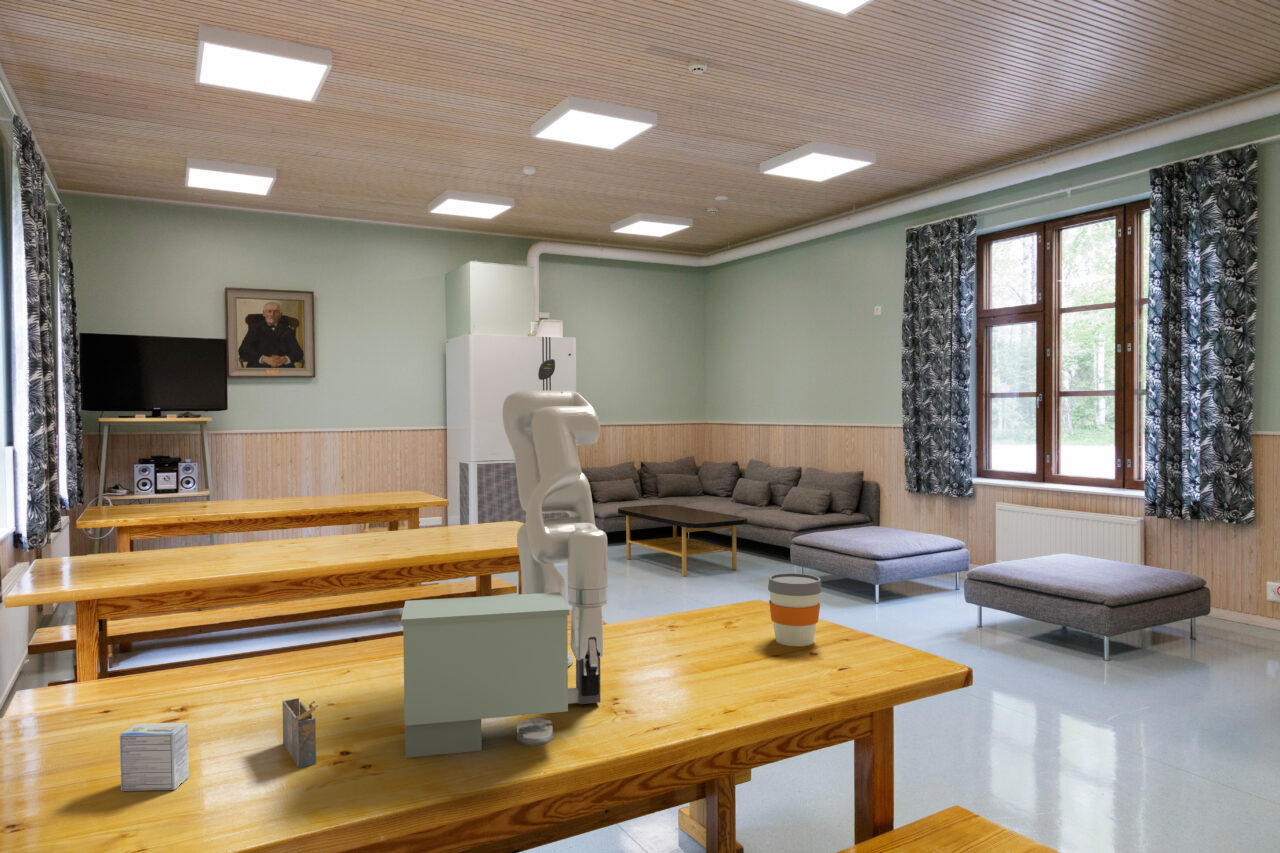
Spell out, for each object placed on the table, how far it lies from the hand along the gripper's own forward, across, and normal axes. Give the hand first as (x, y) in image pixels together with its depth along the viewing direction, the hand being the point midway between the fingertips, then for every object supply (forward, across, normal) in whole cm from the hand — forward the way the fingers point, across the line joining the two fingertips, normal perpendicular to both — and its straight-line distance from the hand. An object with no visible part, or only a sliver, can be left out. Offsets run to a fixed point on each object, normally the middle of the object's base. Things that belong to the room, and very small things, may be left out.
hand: (588, 690), depth 156 cm
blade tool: (+2, 0, -7) cm, 7 cm away
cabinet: (+2, +13, -20) cm, 24 cm away
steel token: (+3, +14, -12) cm, 18 cm away
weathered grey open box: (+3, +11, -49) cm, 51 cm away
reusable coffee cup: (+3, -29, +54) cm, 62 cm away
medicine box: (+3, +18, -68) cm, 71 cm away
